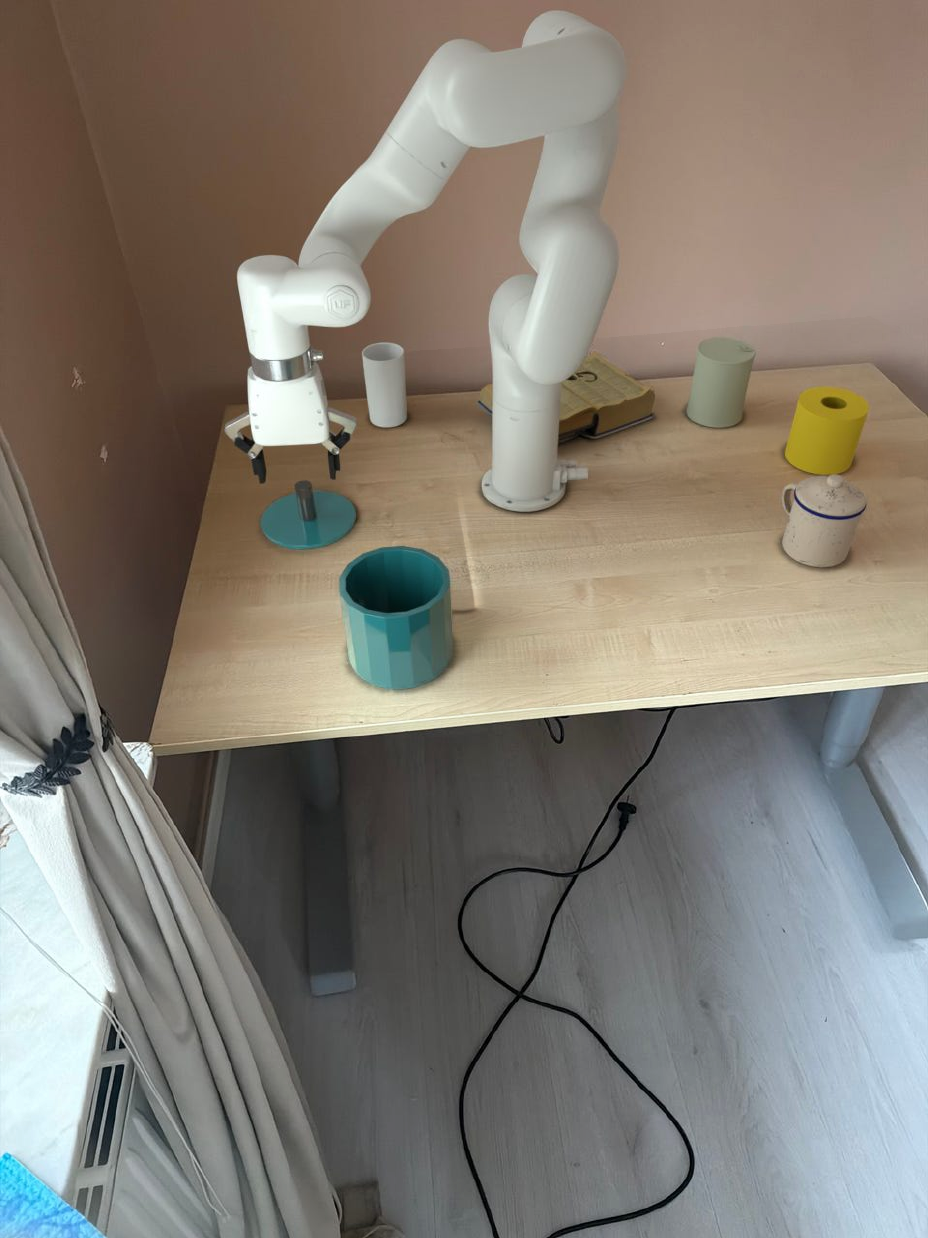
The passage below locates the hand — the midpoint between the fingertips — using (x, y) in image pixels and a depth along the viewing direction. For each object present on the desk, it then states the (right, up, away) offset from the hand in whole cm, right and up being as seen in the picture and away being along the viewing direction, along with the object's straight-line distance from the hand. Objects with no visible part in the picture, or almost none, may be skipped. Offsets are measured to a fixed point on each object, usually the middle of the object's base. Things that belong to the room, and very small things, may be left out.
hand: (298, 476), depth 124 cm
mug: (+10, +15, +28) cm, 34 cm away
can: (+65, +15, +27) cm, 72 cm away
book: (+40, +14, +27) cm, 50 cm away
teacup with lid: (+71, -9, 0) cm, 71 cm away
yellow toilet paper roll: (+78, +5, +16) cm, 80 cm away
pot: (+15, -24, -14) cm, 32 cm away
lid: (+1, -6, +5) cm, 8 cm away
